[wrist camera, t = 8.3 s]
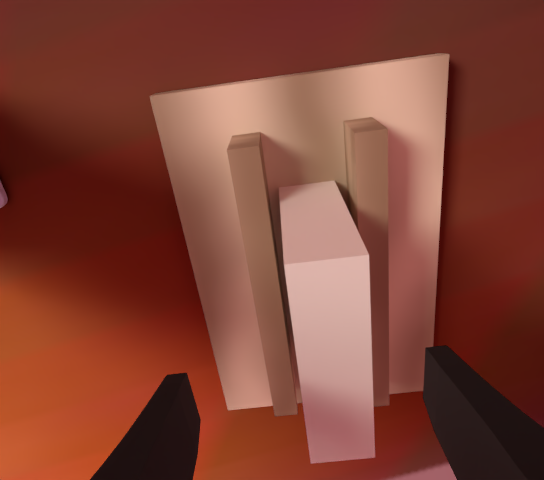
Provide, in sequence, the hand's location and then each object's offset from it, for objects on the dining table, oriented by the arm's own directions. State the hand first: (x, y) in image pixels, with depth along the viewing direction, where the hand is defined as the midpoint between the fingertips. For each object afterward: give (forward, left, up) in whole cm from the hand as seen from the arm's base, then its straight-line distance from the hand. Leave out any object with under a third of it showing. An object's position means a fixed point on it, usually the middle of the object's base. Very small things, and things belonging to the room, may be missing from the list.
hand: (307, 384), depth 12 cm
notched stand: (+1, -1, -9) cm, 9 cm away
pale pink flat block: (+1, -1, -8) cm, 8 cm away
